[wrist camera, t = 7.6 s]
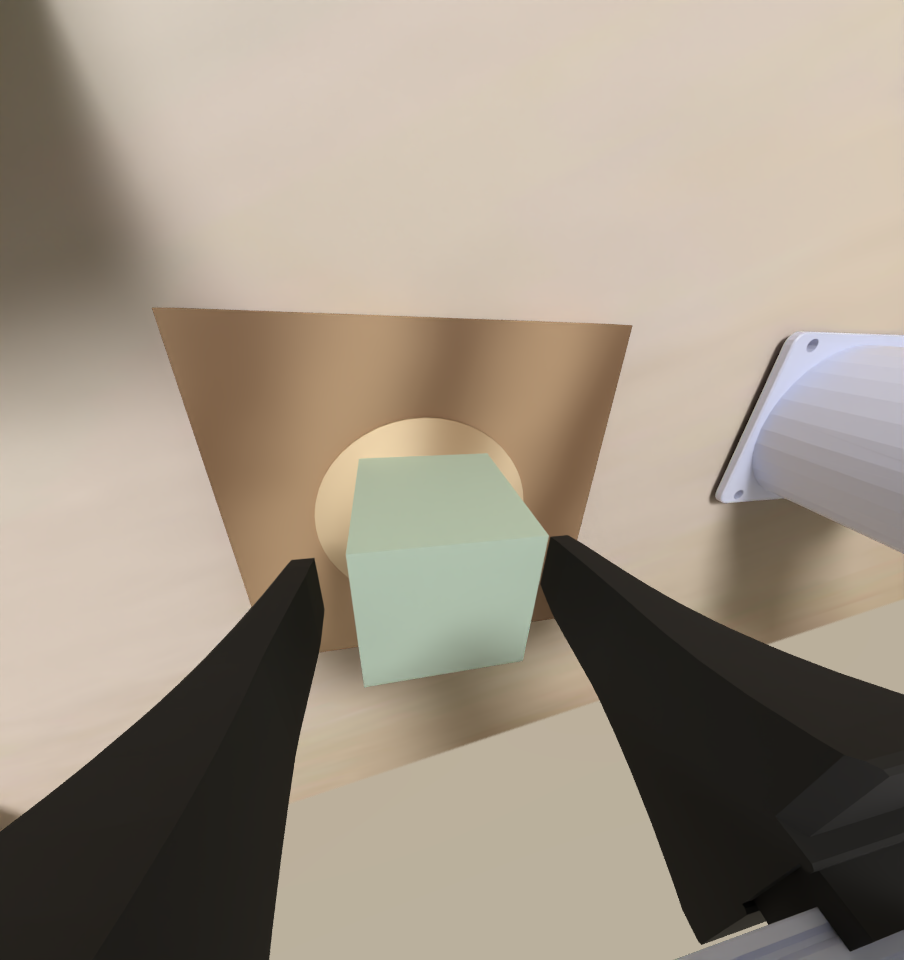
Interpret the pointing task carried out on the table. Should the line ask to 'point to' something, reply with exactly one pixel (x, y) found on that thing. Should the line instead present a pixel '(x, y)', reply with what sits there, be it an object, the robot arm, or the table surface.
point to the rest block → (440, 566)
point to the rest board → (381, 421)
